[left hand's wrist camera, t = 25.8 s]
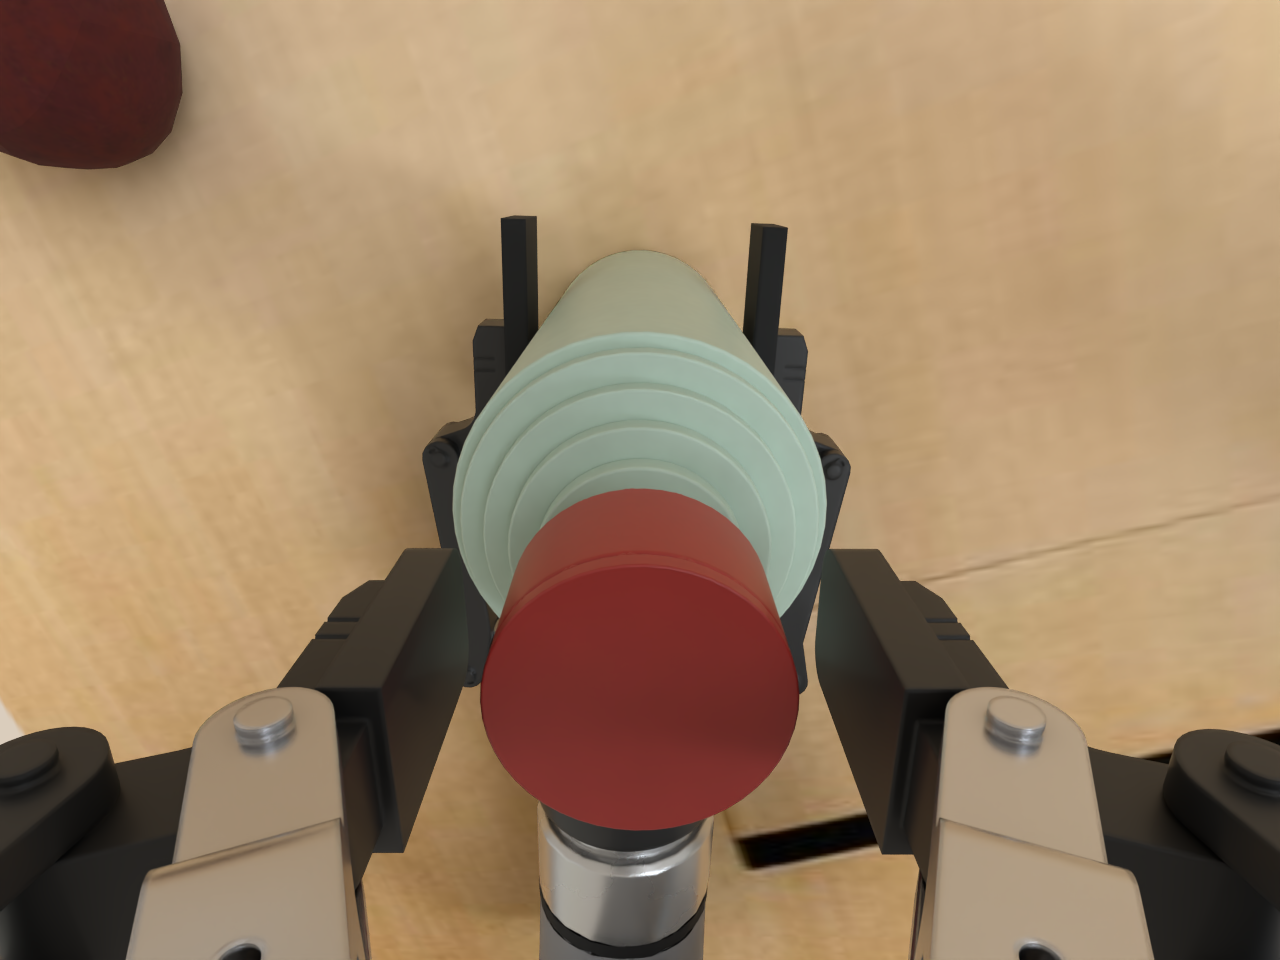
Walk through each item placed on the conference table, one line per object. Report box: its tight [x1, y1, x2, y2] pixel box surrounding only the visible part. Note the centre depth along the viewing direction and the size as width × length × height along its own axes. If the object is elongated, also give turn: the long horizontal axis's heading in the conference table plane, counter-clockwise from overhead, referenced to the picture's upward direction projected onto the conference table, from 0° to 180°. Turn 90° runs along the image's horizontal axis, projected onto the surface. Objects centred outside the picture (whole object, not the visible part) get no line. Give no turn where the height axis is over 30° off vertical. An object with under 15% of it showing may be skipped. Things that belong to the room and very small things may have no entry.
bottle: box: [453, 250, 827, 618], centre depth 21 cm, size 7×7×24 cm
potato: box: [0, 0, 182, 169], centre depth 25 cm, size 7×8×7 cm
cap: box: [480, 488, 799, 830], centre depth 11 cm, size 4×4×2 cm
